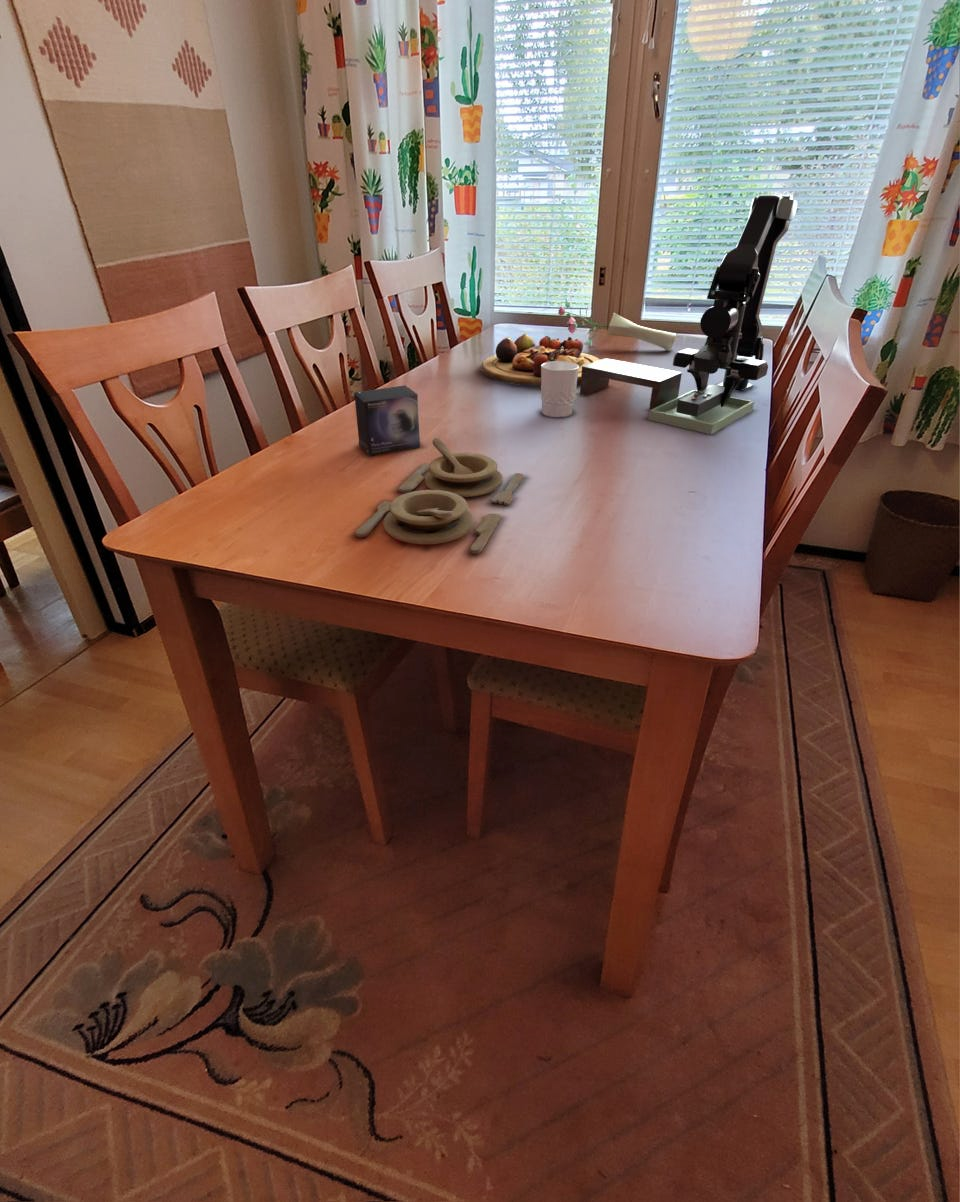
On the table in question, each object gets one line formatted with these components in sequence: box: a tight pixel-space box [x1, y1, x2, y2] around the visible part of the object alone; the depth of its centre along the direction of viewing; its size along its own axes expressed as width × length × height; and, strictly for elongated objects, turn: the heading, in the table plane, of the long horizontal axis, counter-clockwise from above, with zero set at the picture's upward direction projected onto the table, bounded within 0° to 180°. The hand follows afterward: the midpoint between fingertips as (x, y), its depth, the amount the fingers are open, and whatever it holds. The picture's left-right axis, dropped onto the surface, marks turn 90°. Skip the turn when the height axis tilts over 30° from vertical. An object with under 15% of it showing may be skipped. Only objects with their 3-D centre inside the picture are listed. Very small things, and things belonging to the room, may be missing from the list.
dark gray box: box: [676, 384, 725, 417], centre depth 138 cm, size 15×5×3 cm, turn 138°
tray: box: [648, 389, 755, 435], centre depth 139 cm, size 20×14×2 cm
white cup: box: [540, 361, 579, 418], centre depth 139 cm, size 8×8×10 cm
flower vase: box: [557, 299, 677, 352], centre depth 191 cm, size 12×12×35 cm
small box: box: [353, 385, 421, 457], centre depth 122 cm, size 11×6×10 cm, turn 117°
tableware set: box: [354, 437, 525, 555], centre depth 102 cm, size 30×20×6 cm, turn 164°
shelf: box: [579, 357, 683, 412], centre depth 149 cm, size 10×20×6 cm, turn 48°
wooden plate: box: [481, 333, 601, 387], centre depth 168 cm, size 32×32×8 cm
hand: (711, 404), depth 142 cm, fingers closed on dark gray box, 4 cm apart
